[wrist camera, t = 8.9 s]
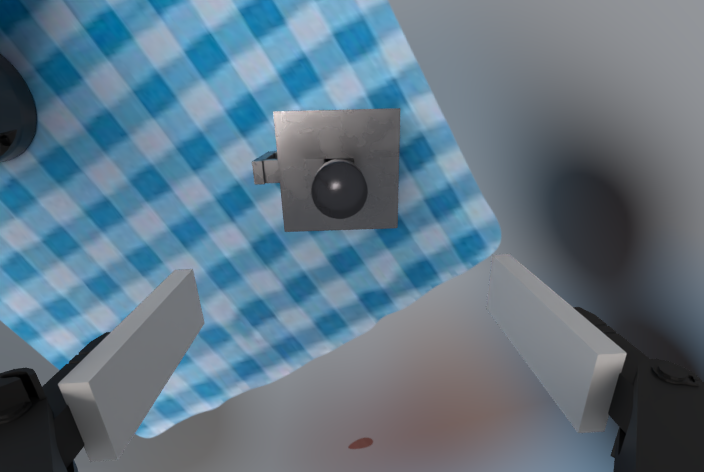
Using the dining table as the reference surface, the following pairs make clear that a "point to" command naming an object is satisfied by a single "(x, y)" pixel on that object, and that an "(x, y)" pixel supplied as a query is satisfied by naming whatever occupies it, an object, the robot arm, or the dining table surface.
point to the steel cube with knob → (329, 143)
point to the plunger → (339, 188)
